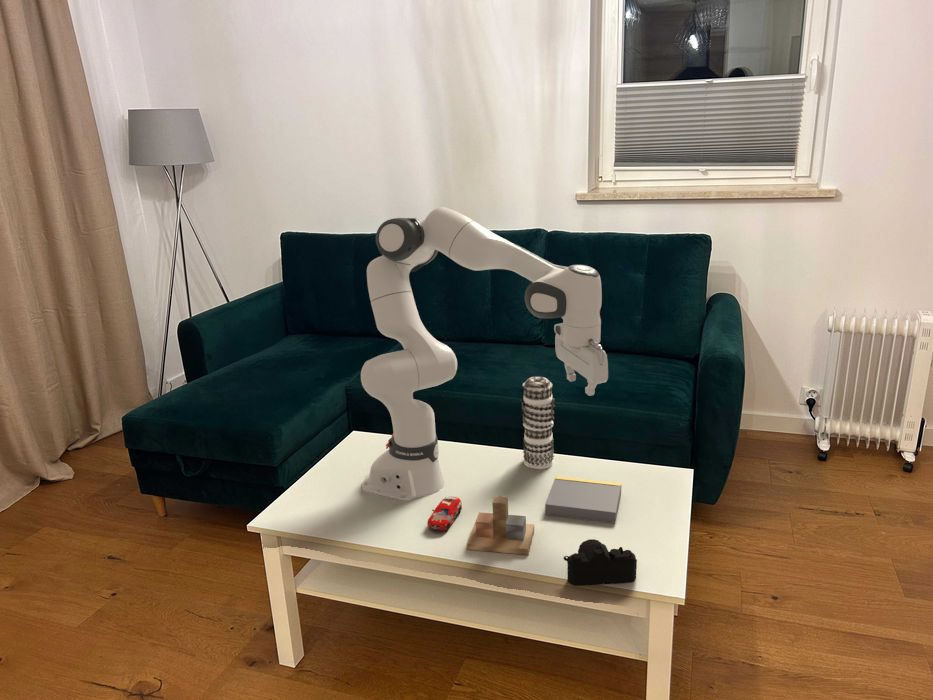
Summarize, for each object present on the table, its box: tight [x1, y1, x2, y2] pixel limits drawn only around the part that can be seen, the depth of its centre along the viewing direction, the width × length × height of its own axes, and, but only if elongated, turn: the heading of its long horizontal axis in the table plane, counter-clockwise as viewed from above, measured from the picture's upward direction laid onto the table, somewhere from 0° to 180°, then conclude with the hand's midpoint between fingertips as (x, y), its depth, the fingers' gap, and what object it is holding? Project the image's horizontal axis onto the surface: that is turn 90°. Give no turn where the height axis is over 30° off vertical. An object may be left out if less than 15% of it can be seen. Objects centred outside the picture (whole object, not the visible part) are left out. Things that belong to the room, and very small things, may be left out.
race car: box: [426, 496, 463, 532], centre depth 176 cm, size 13×5×4 cm, turn 159°
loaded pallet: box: [466, 495, 535, 556], centre depth 166 cm, size 14×10×12 cm
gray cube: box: [506, 514, 527, 541], centre depth 165 cm, size 4×4×4 cm
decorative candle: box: [520, 375, 556, 470], centre depth 199 cm, size 9×9×25 cm
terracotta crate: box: [475, 511, 494, 538], centre depth 167 cm, size 4×4×4 cm
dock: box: [544, 475, 622, 524], centre depth 181 cm, size 17×14×3 cm
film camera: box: [563, 538, 638, 587], centre depth 153 cm, size 15×10×9 cm, turn 92°
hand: (580, 387), depth 176 cm, fingers open, 8 cm apart
